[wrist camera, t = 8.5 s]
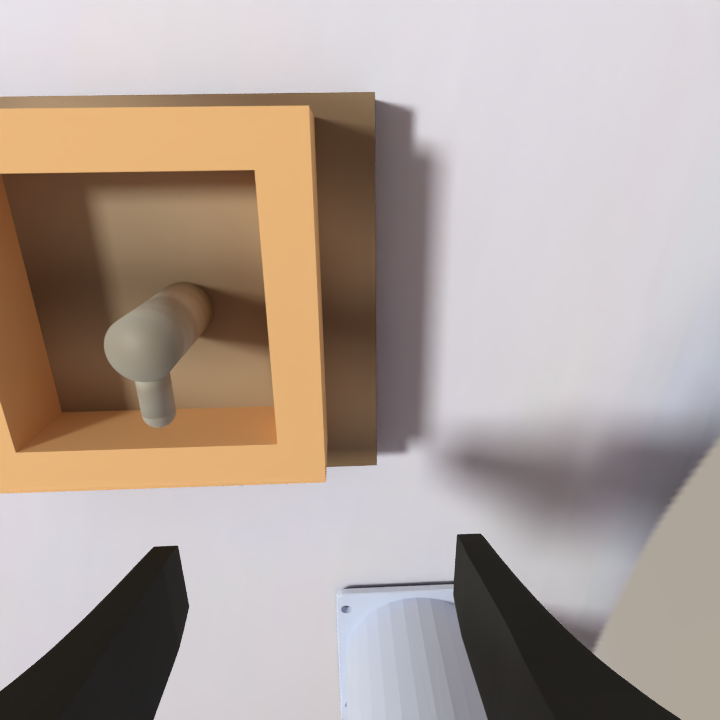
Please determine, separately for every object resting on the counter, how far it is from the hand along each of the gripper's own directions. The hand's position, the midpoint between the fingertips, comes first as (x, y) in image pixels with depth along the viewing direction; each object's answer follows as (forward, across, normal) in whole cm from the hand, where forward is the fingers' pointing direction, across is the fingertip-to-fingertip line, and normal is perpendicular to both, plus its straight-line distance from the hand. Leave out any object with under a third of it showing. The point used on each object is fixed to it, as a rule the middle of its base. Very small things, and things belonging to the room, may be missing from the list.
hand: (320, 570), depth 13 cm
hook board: (+9, +5, -5) cm, 12 cm away
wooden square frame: (+8, +6, -5) cm, 11 cm away
